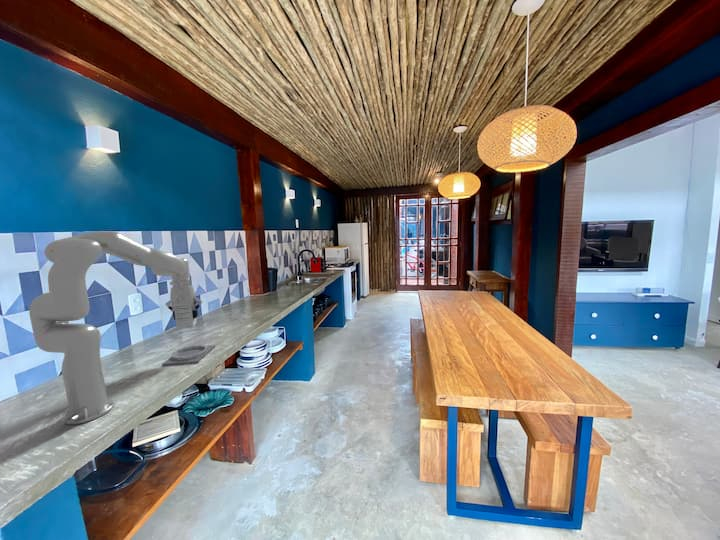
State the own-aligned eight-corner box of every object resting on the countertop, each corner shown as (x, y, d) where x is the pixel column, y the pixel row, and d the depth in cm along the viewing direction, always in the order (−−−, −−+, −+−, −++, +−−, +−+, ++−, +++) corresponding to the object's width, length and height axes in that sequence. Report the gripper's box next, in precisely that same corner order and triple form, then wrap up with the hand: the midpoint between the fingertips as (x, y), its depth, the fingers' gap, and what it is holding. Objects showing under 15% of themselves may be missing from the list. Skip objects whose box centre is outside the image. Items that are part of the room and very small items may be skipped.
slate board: (198, 363, 135) (197, 361, 134) (162, 365, 133) (162, 363, 133) (215, 346, 154) (215, 344, 154) (184, 349, 153) (184, 347, 153)
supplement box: (180, 325, 144) (177, 300, 143) (197, 323, 146) (194, 299, 145) (176, 329, 137) (172, 303, 136) (193, 327, 139) (190, 302, 138)
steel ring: (199, 359, 137) (199, 356, 137) (165, 361, 135) (165, 358, 135) (212, 346, 152) (212, 343, 152) (182, 348, 151) (182, 346, 150)
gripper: (158, 286, 135) (163, 321, 137) (196, 284, 136) (200, 319, 138) (167, 283, 142) (171, 317, 144) (203, 281, 144) (207, 315, 146)
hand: (185, 318), depth 141 cm, fingers closed on supplement box, 8 cm apart
